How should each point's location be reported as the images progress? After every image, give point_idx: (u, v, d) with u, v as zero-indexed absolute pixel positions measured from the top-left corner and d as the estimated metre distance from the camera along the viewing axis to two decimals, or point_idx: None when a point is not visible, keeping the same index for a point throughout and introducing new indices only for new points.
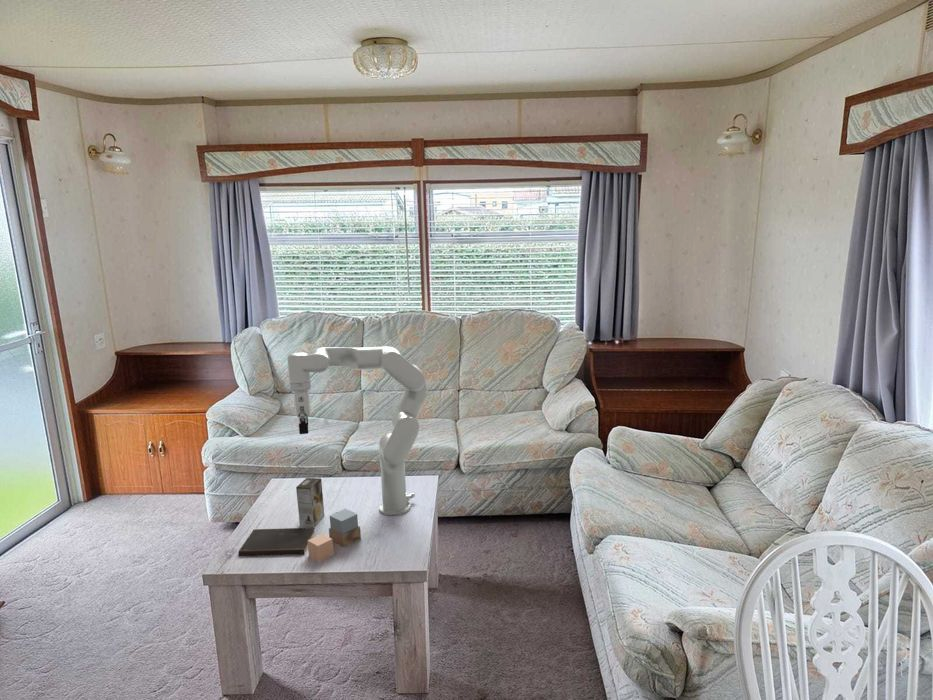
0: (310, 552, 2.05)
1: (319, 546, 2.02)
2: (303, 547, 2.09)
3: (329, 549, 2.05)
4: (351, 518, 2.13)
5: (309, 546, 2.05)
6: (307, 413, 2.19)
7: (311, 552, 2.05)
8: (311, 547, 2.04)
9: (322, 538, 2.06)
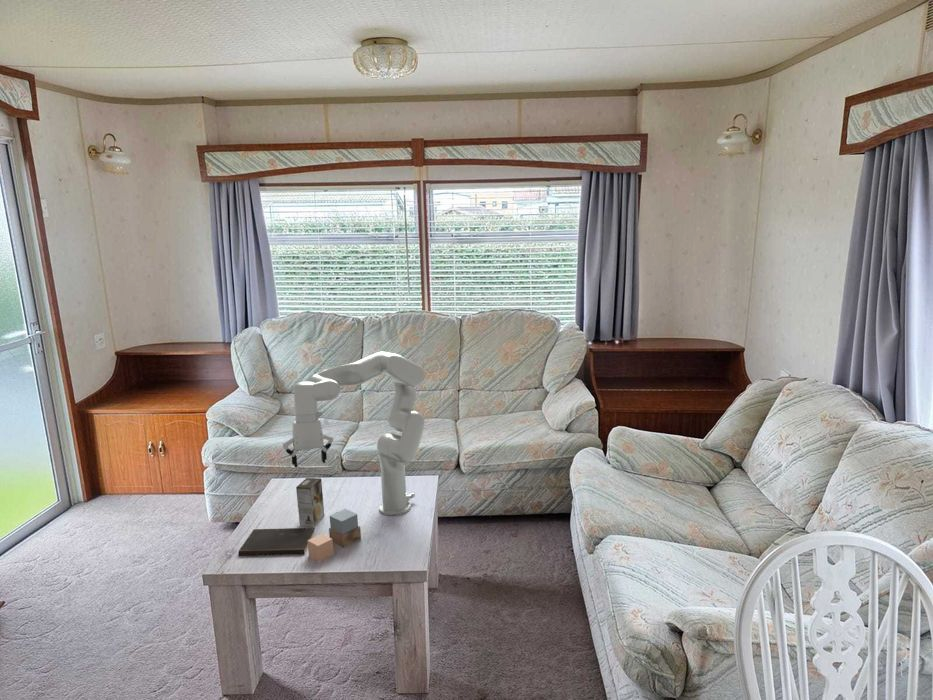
0: (310, 552, 2.05)
1: (319, 546, 2.02)
2: (303, 547, 2.09)
3: (329, 549, 2.05)
4: (351, 518, 2.13)
5: (309, 546, 2.05)
6: None
7: (311, 552, 2.05)
8: (311, 547, 2.04)
9: (322, 538, 2.06)
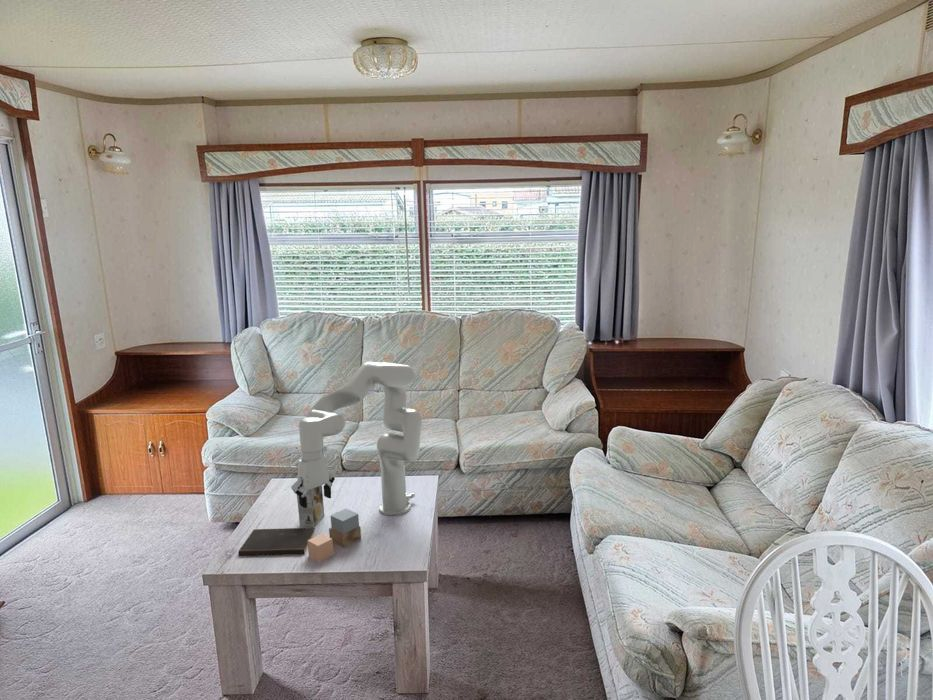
0: (310, 552, 2.05)
1: (319, 546, 2.02)
2: (303, 547, 2.09)
3: (329, 549, 2.05)
4: (352, 518, 2.14)
5: (309, 546, 2.05)
6: None
7: (311, 552, 2.05)
8: (311, 547, 2.04)
9: (322, 538, 2.06)
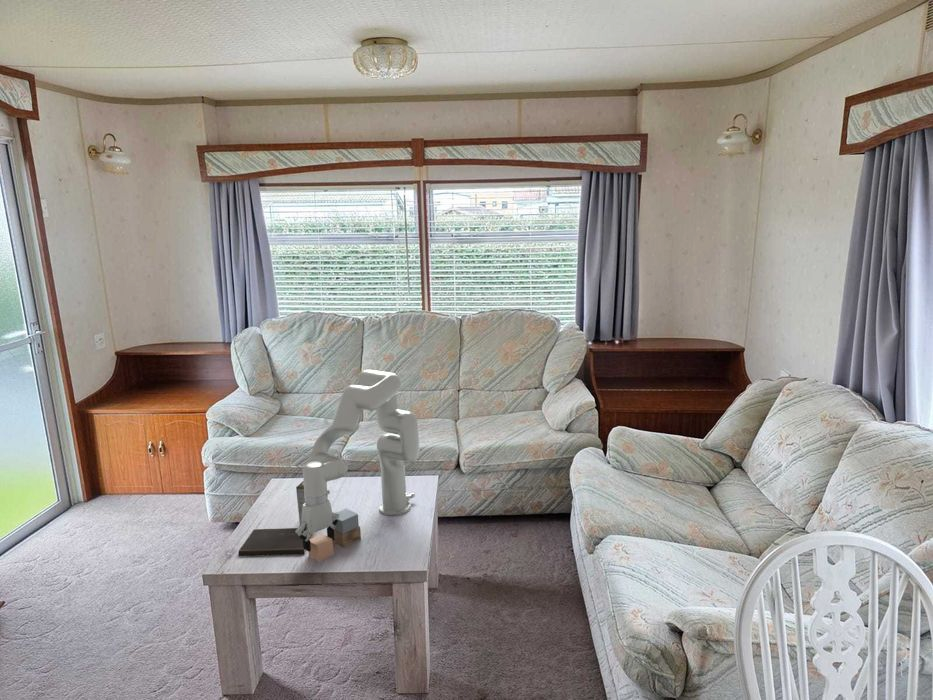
0: (310, 552, 2.05)
1: (319, 546, 2.02)
2: None
3: (329, 549, 2.05)
4: (352, 518, 2.13)
5: None
6: None
7: (311, 552, 2.05)
8: (311, 547, 2.04)
9: (322, 538, 2.06)
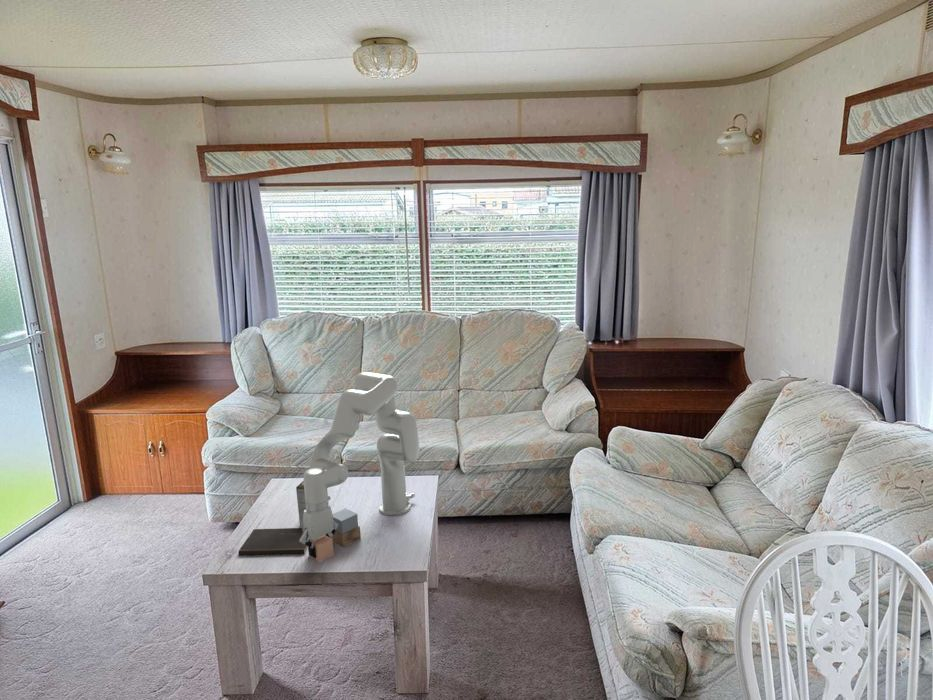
0: None
1: (319, 546, 2.02)
2: (303, 547, 2.09)
3: (329, 549, 2.05)
4: (351, 518, 2.14)
5: None
6: None
7: None
8: None
9: (322, 538, 2.06)
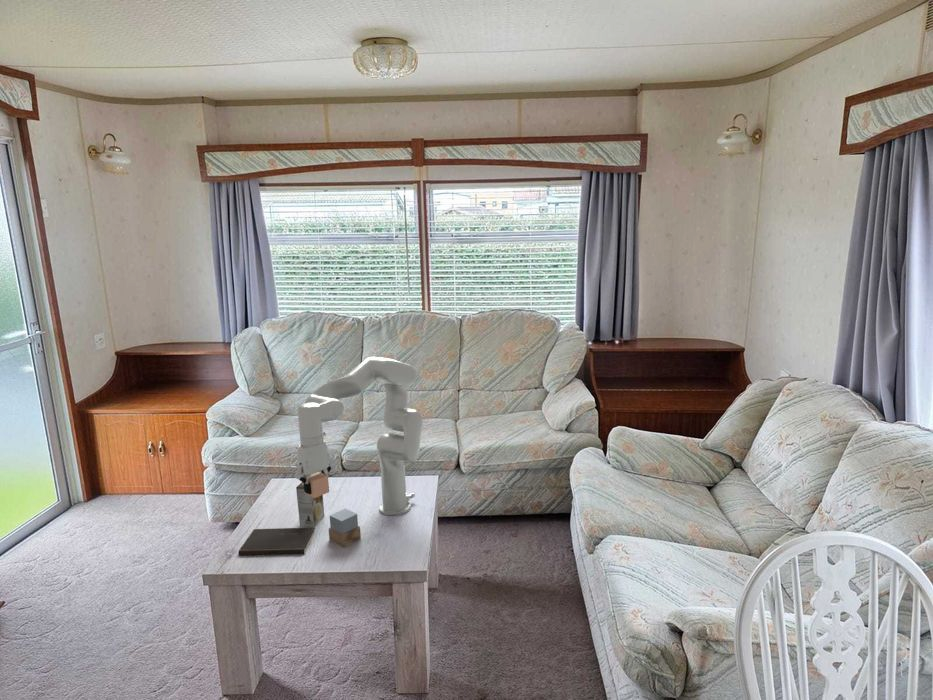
0: None
1: (314, 482, 1.98)
2: (303, 547, 2.09)
3: (324, 486, 2.01)
4: (351, 518, 2.13)
5: None
6: None
7: None
8: None
9: (318, 475, 2.02)
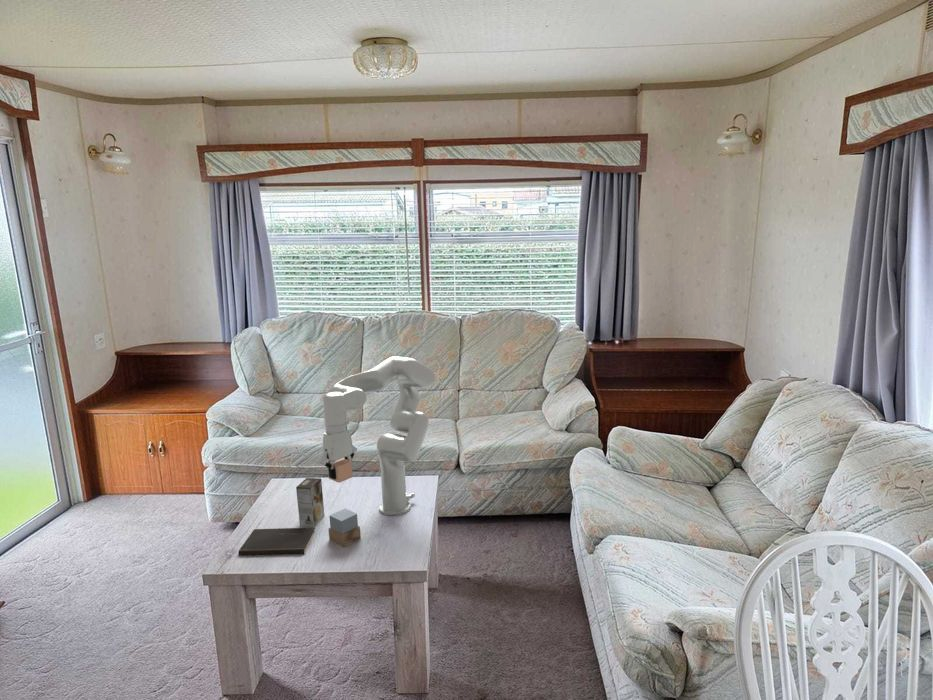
0: None
1: (339, 467, 2.07)
2: (303, 547, 2.09)
3: (348, 471, 2.11)
4: (351, 518, 2.14)
5: None
6: None
7: None
8: None
9: (342, 461, 2.12)
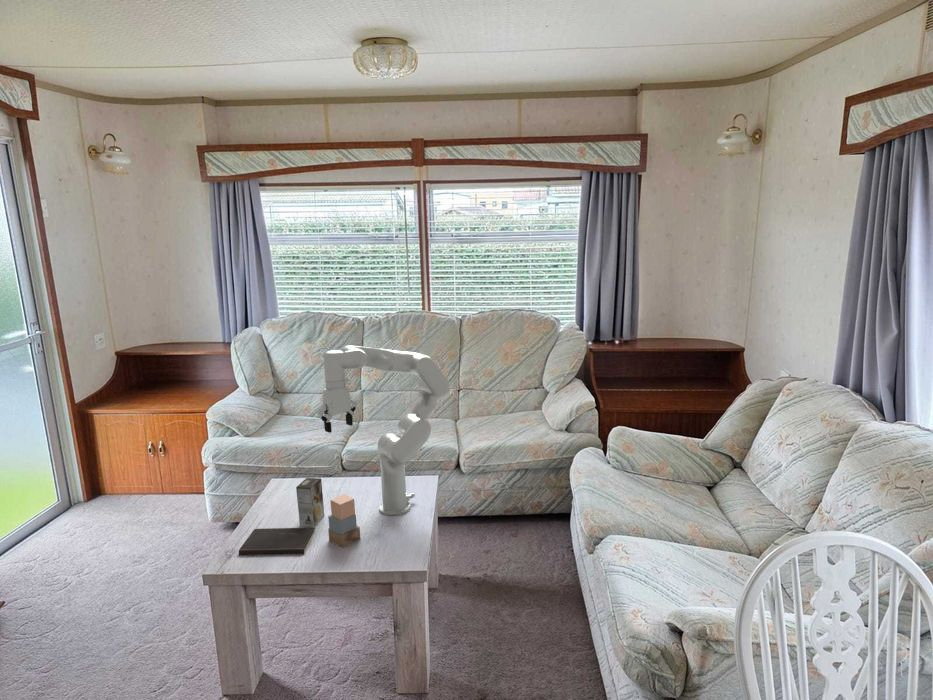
0: (333, 511, 2.14)
1: (341, 505, 2.10)
2: (303, 547, 2.09)
3: (351, 509, 2.13)
4: (350, 519, 2.13)
5: (331, 505, 2.14)
6: None
7: (334, 511, 2.13)
8: (334, 506, 2.12)
9: (344, 498, 2.14)
